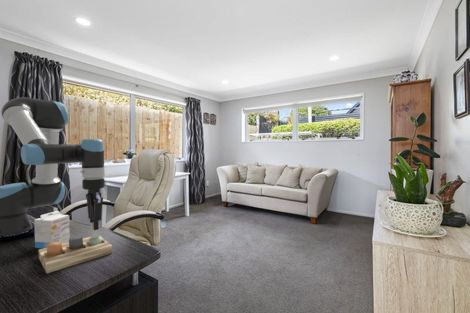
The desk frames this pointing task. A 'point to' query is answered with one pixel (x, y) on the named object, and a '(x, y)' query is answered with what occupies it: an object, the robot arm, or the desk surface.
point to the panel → (73, 255)
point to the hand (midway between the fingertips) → (95, 237)
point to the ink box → (51, 229)
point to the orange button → (54, 248)
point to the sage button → (95, 241)
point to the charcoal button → (75, 242)
